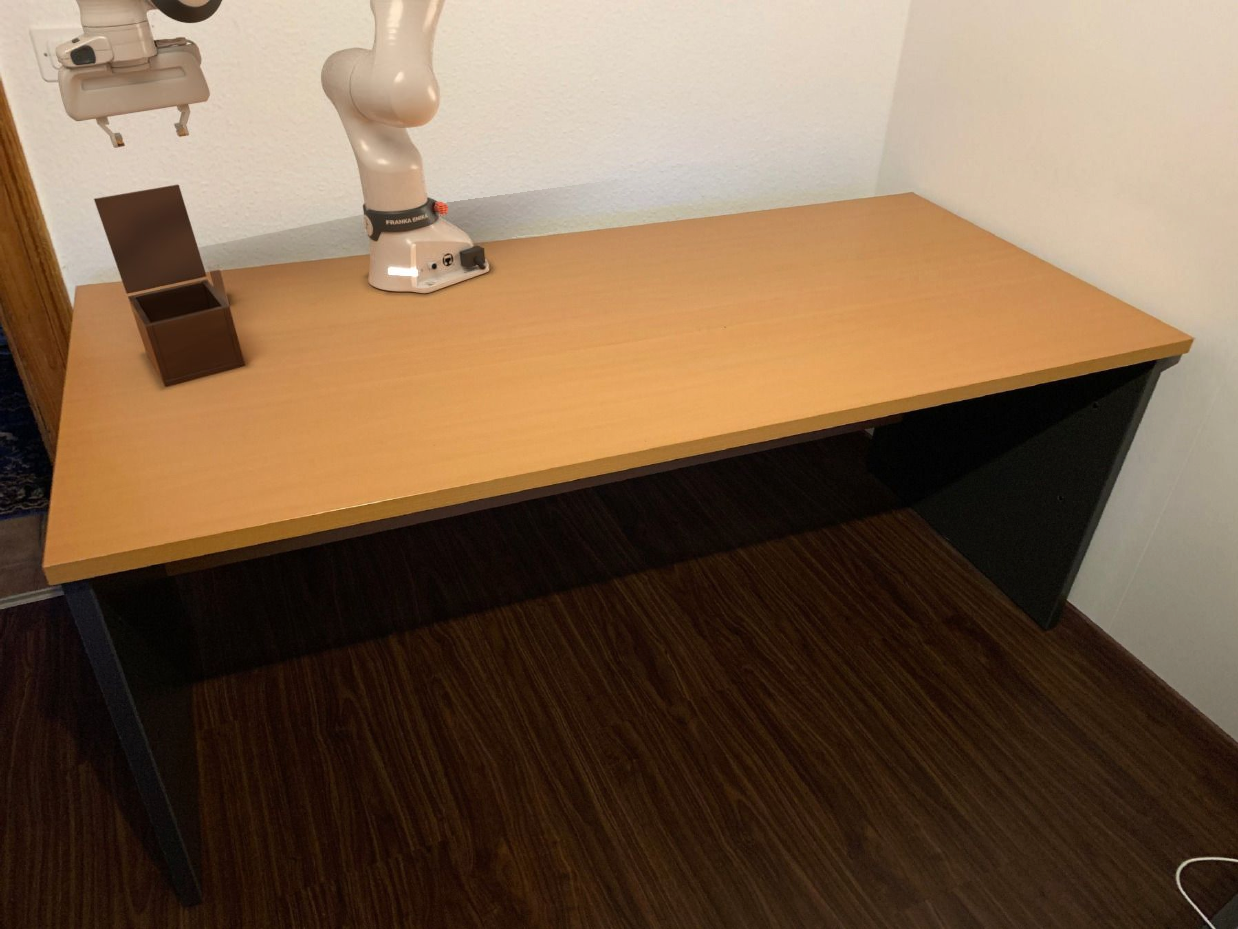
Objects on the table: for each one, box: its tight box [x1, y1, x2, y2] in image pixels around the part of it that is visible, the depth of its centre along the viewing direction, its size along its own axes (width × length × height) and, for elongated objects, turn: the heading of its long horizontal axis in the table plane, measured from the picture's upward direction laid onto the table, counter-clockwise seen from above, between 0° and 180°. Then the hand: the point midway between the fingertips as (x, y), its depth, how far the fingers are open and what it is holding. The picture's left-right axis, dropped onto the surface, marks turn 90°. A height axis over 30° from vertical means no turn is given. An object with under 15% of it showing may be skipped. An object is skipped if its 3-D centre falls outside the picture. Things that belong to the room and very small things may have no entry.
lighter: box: [207, 264, 230, 305], centre depth 160 cm, size 7×2×8 cm, turn 25°
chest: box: [127, 278, 246, 388], centre depth 141 cm, size 13×12×10 cm
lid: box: [93, 184, 207, 294], centre depth 142 cm, size 14×12×5 cm
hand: (151, 140), depth 142 cm, fingers open, 8 cm apart
